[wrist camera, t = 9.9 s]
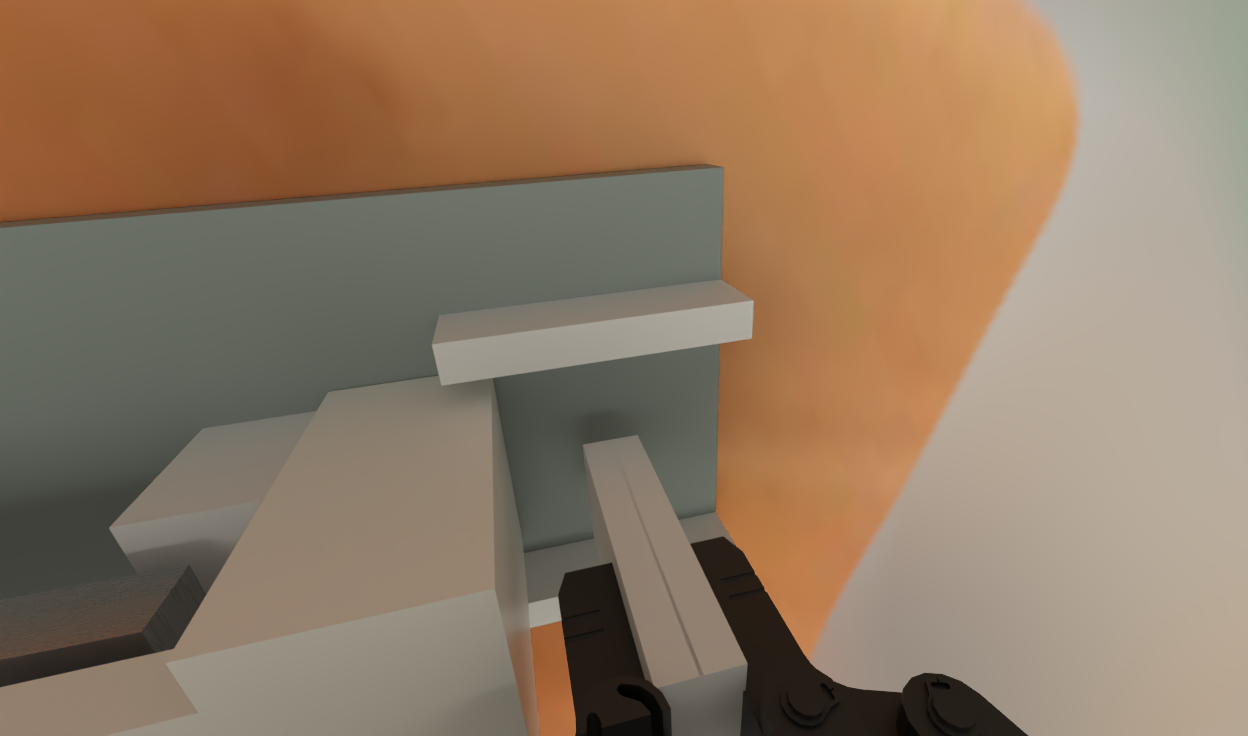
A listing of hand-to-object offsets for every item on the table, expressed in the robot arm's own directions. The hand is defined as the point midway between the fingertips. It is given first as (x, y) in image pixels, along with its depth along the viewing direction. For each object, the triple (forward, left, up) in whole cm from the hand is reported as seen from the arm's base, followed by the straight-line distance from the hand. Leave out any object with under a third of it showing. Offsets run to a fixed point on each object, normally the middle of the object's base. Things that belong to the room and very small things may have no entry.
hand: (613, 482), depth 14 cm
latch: (-7, 0, -2) cm, 7 cm away
